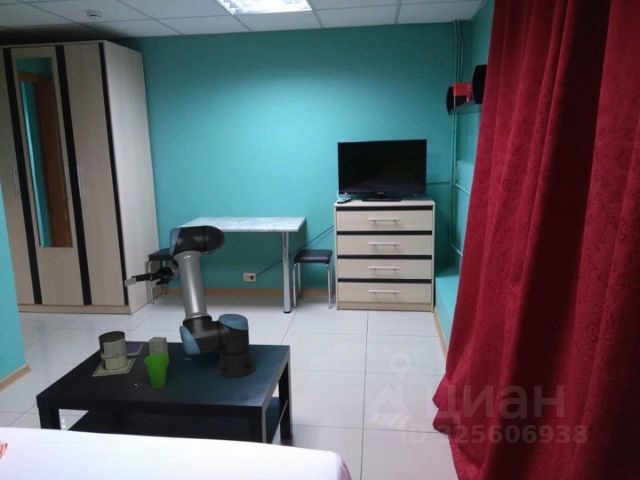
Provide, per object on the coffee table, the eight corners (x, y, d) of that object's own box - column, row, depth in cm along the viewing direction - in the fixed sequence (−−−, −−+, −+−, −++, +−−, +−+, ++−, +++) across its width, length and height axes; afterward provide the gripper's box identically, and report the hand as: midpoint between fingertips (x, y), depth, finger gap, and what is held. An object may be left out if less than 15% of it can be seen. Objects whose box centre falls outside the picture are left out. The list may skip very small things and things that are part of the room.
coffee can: (96, 370, 193) (92, 338, 191) (114, 360, 203) (110, 329, 200) (116, 373, 190) (112, 340, 188) (133, 362, 200) (130, 331, 197)
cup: (141, 389, 176) (139, 362, 174) (153, 378, 185) (151, 353, 183) (164, 390, 175) (161, 363, 173) (174, 379, 184) (172, 353, 182)
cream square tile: (128, 372, 191) (128, 371, 191) (92, 376, 188) (92, 375, 188) (135, 358, 204) (135, 358, 204) (101, 362, 202) (101, 361, 202)
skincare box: (169, 363, 198) (167, 337, 196) (164, 368, 194) (161, 341, 192) (156, 362, 200) (154, 336, 198) (150, 367, 195) (148, 340, 193)
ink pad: (138, 354, 209) (138, 352, 209) (112, 357, 207) (112, 354, 207) (143, 345, 220) (142, 343, 219) (118, 347, 218) (118, 345, 217)
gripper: (189, 282, 223) (161, 294, 203) (147, 279, 231) (116, 290, 211) (188, 267, 221) (160, 278, 202) (146, 264, 230) (114, 274, 210)
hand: (137, 284), depth 206 cm, fingers open, 13 cm apart
